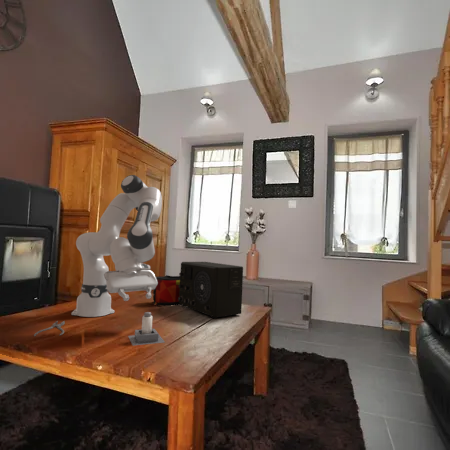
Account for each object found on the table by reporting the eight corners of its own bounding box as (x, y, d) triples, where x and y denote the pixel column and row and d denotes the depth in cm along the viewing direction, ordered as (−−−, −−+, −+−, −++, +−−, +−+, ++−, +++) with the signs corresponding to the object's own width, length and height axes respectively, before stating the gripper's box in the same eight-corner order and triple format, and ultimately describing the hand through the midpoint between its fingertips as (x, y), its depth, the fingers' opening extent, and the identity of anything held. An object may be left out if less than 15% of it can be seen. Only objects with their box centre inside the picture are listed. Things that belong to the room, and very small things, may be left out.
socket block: (128, 338, 111) (128, 328, 112) (157, 336, 116) (158, 326, 116) (132, 348, 101) (133, 337, 102) (164, 345, 106) (165, 335, 106)
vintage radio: (172, 305, 172) (174, 261, 174) (201, 302, 184) (203, 261, 186) (210, 320, 143) (213, 267, 144) (242, 316, 155) (244, 266, 156)
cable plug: (140, 337, 110) (141, 312, 110) (150, 337, 111) (151, 311, 112) (142, 340, 106) (143, 314, 107) (152, 340, 108) (153, 313, 108)
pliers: (33, 336, 108) (38, 322, 126) (32, 339, 108) (38, 324, 126) (63, 334, 112) (65, 320, 130) (63, 336, 112) (65, 322, 130)
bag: (191, 299, 195) (193, 273, 196) (203, 303, 183) (204, 275, 184) (146, 302, 177) (148, 274, 178) (156, 307, 166) (158, 277, 167)
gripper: (105, 266, 116) (115, 296, 108) (153, 265, 130) (164, 291, 122) (100, 276, 119) (109, 306, 111) (147, 274, 133) (157, 301, 125)
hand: (138, 298), depth 117 cm, fingers open, 8 cm apart
